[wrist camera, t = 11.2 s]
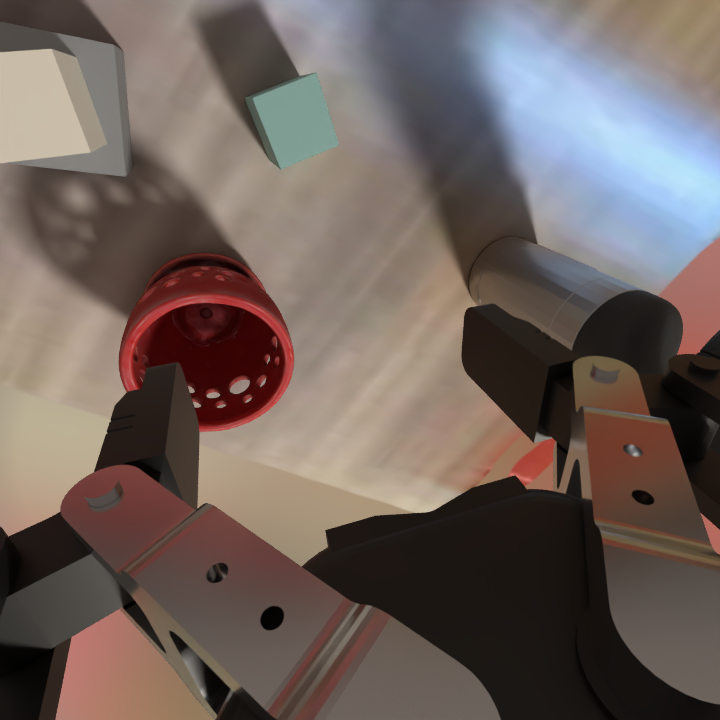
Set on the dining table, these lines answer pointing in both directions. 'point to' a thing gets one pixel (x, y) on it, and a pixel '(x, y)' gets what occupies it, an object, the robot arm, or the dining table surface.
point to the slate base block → (104, 87)
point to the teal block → (293, 120)
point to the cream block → (45, 107)
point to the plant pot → (210, 337)
